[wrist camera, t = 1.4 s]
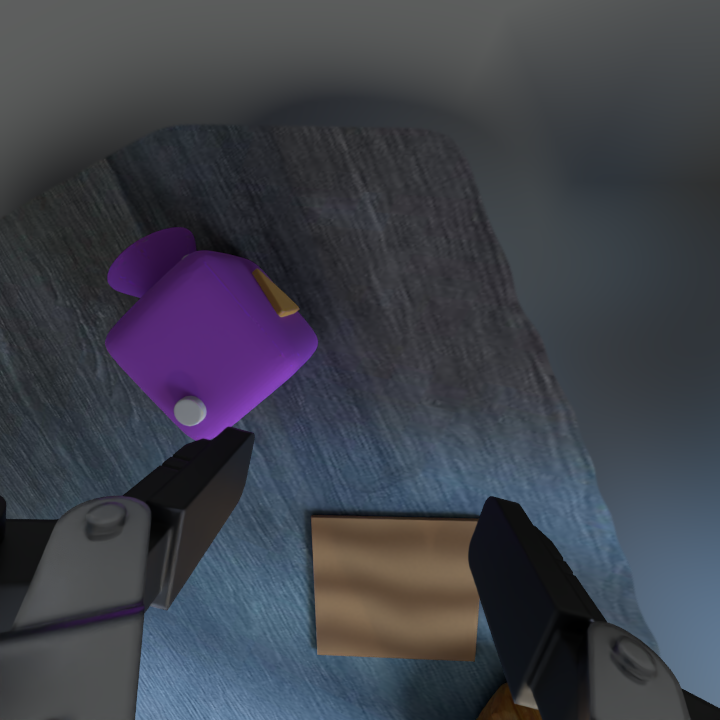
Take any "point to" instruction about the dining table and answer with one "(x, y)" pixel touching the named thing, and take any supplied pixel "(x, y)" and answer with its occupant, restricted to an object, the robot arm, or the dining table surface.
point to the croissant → (506, 708)
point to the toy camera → (203, 331)
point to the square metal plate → (394, 587)
